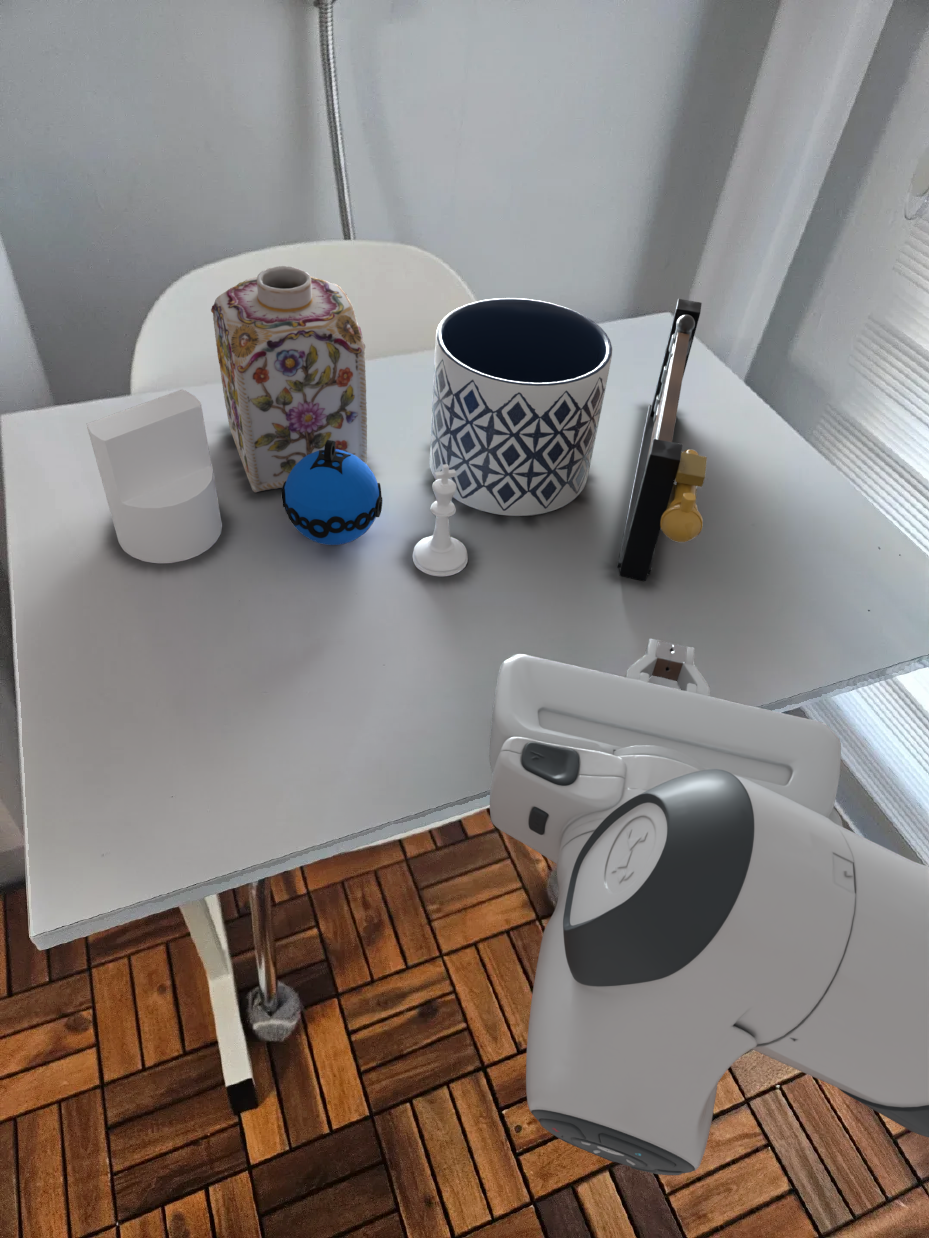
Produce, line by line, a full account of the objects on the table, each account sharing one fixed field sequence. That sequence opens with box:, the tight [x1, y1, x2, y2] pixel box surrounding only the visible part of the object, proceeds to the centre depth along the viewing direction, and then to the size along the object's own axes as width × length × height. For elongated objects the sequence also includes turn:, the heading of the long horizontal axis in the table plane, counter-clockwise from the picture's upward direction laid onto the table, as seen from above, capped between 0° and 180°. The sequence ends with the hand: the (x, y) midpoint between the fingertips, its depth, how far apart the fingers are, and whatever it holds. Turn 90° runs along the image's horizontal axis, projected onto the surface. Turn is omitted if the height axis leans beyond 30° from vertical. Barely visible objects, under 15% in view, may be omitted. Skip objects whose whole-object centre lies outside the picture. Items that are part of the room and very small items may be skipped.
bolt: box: [660, 448, 704, 543], centre depth 71 cm, size 11×3×4 cm, turn 166°
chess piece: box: [412, 464, 469, 577], centre depth 76 cm, size 5×5×10 cm
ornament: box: [280, 440, 383, 546], centre depth 77 cm, size 9×9×10 cm
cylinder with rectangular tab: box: [86, 389, 223, 564], centre depth 75 cm, size 9×9×12 cm
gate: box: [646, 315, 695, 464], centre depth 84 cm, size 23×2×12 cm, turn 165°
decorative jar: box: [210, 265, 368, 493], centre depth 83 cm, size 12×12×18 cm
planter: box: [429, 297, 613, 517], centre depth 84 cm, size 16×16×14 cm
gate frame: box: [616, 298, 708, 582], centre depth 84 cm, size 29×5×13 cm, turn 166°
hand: (669, 649), depth 57 cm, fingers closed
